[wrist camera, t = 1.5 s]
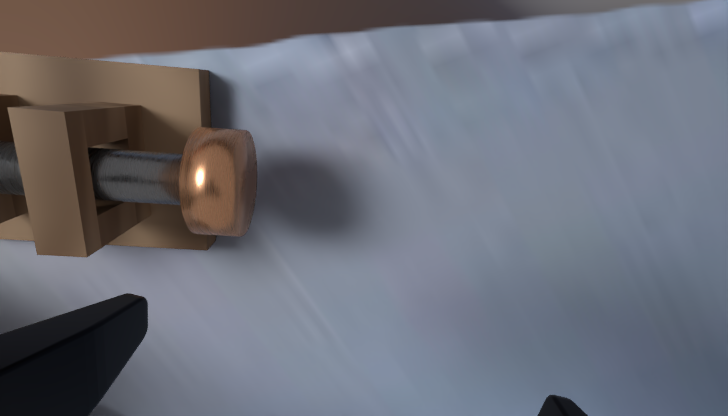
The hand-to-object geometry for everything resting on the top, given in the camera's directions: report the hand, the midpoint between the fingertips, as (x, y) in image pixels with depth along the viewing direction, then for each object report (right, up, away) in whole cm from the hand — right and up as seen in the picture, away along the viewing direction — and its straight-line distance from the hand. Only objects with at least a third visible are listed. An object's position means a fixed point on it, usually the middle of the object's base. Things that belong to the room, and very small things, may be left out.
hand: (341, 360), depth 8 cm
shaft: (-11, +6, +11) cm, 17 cm away
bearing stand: (-15, +7, +13) cm, 21 cm away
